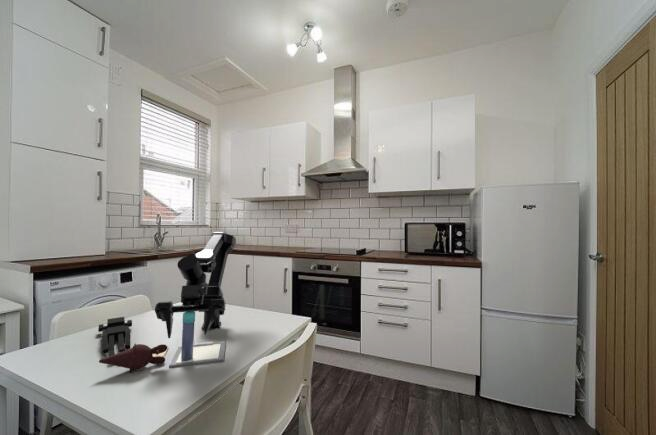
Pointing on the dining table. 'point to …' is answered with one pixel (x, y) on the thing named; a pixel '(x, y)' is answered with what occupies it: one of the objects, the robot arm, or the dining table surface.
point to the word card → (160, 354)
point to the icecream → (136, 357)
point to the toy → (115, 334)
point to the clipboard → (201, 354)
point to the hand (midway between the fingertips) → (187, 336)
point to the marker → (188, 335)
